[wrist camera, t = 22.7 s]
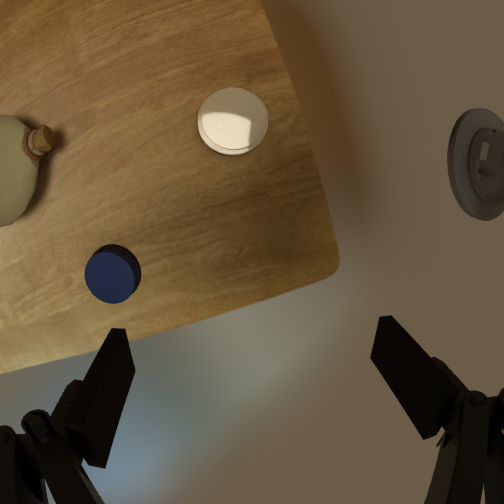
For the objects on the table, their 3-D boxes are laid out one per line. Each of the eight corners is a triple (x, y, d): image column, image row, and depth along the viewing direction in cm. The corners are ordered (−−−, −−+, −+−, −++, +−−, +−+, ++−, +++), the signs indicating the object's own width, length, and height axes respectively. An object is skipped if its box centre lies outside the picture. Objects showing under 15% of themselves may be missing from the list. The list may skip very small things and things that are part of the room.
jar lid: (102, 237, 38) (97, 241, 36) (147, 267, 40) (144, 272, 38) (82, 279, 39) (76, 284, 37) (124, 307, 41) (120, 313, 39)
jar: (267, 119, 36) (284, 106, 26) (239, 165, 38) (247, 168, 28) (219, 93, 35) (220, 71, 25) (191, 139, 36) (182, 132, 26)
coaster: (149, 261, 40) (148, 263, 40) (129, 306, 42) (128, 308, 41) (100, 234, 38) (98, 236, 38) (83, 281, 40) (81, 283, 39)
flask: (-24, 145, 31) (56, 89, 32) (1, 233, 36) (84, 187, 37) (-59, 147, 22) (25, 76, 23) (-33, 249, 27) (55, 196, 28)
